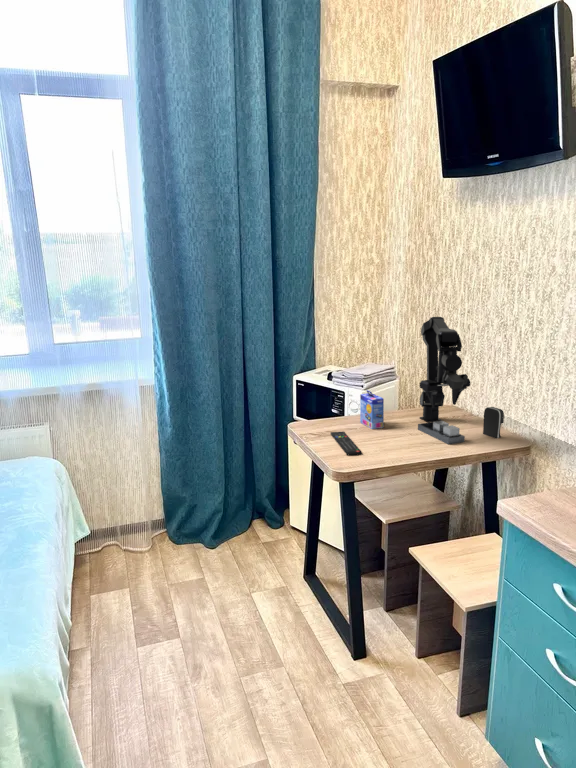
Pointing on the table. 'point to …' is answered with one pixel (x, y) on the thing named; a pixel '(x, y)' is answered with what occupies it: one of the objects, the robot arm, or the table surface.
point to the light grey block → (451, 431)
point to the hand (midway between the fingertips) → (443, 405)
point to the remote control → (346, 443)
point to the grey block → (439, 426)
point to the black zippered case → (493, 421)
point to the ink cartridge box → (371, 410)
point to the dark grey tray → (439, 434)
